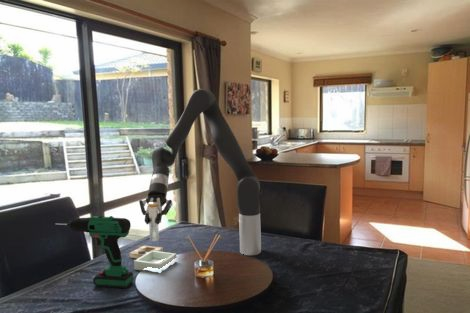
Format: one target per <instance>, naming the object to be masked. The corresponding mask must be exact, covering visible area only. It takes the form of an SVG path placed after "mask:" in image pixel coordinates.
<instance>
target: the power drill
mask: <svg viewBox="0 0 470 313" xmlns="http://www.w3.org/2000/svg"><path fill="white" fill-rule="evenodd" d="M54 224H55V225H58V226H59V225H62V226H63V225H64V226H67V227H68V228H70V230H71V231H75V232H80V233H88V235H89V236H90V238H95V239H96V240H97V244H96V245H97V246H99V247H100V248H101V249H103V250H104V254H105V256H106V258H107V260H108V263H109V266H107V267H106V268H105V269H103V270H101V271H99V272H98V274H96V275H95V276H94V277H93V280H92V283H93V285H94V286H96V287H100V288H101V287H104V288H116V289H117V288H118V289H127V288H129V286H130V285H132V283H133V281H134V273H133V271H129V269H128V268H127V266H126V265H122V260H123V257H122V252H121V249H120V245H119V243H118V242H119V239H122V238H126V237H127V236H128V235H129V234H130V229H131V226H132V225H131V221H130V219H128V218H125V217H114V216H112V215H110V216H104V215H101V216H98V215H93V216H91V217H90V216H89V217H78V218H77V217H75V218H73V219H71V220H70V221H68V223H54Z"/></svg>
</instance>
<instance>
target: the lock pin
mask: <svg viewBox="0 0 470 313" xmlns="http://www.w3.org/2000/svg"><path fill="white" fill-rule="evenodd" d="M147 207H148V210H149V224H148V230H149V231H148V232H149V241H150V242H156V241H159V240H160V235H159V234H160V232H159V231H160V230H159V224H157V223H156V220H157V214H158V203H157V202H149V203H148V204H147Z"/></svg>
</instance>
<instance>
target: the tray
mask: <svg viewBox="0 0 470 313" xmlns="http://www.w3.org/2000/svg"><path fill="white" fill-rule="evenodd" d="M165 258H166V259H165ZM175 258H177V253H175V252H174V253H173V252H165V251H163V252H159V251H150V252H148V253H147V254H145V255H143V256H141V257H140V258H138V259H137V258H135V260H133V267H134V268H133V269H134V270H136V271H141V270H143V269H144V268H147V267H152V268H158V269H160V268H162V267H163V266H165V265H166V264H168V263H169V262H171V261H172V260H173V259H175ZM161 259H165V260H163V261H162V262H160V263H154V262H156V261H158V260H161Z"/></svg>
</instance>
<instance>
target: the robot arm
mask: <svg viewBox="0 0 470 313" xmlns="http://www.w3.org/2000/svg"><path fill="white" fill-rule="evenodd" d="M201 114H203V115H204V118H205V119H206V121H207V123H208V125H209V129H210V133H211V138H212V141H213V144H214V145H215V147H216V149H217V151H218V153H219V154H220V156H221V158H222V159H223V160H224V161H225V162H226V164H227V165H228V166H229V168H230V169H231V170H232V171H233V173H234V175H235V177H236V180H237V186H236V187H237V188H236V199H237V208H238V221H239V222H238V227H239V228H238V229H239V233H238V234H239V235H238V236H239V253H240V254H241V255H243V254H244V255H243V256H257V255H259V254H261V253H262V237H261V235H262V234H261V233H262V232H261V231H262V230H261V228H262V227H261V206H260V189H261V183H260V180H259V179H258V177H257V175H256V174H255V172H254V171H253V170H252V168H251V167H250V165H249V163H248V161H247V159H246V157H245V154H244V153H243V152H244V151H243V149H242V148H241V146H240V144H239V141H238V140H237V138H236V136H235V134H234V132H233V131H232V129H231V127H230V126H229V123H228V122H227V120H226V119H225V117H224V115H223V113H222V111H221V107H220V106H219V102H218V100H217V98H216V96H215V94H214V93H213V92H212V91H211V90H209V89H206V88H205V89H204V88H197V89H195V90H194V91H193V92H192V93H191V95H190V97H189V99H188V101H187V103H186V105H185V108H184V110H183V112H182V114H181V116H180V117H179V119H178V121H177V123H176V124H175V125H174V127H173V128H172V130H171V131H170V133H169V134H168V136H167V137H166V139H165V145H166V146H168V148H169V149H171V150H169V149H166V148H165V147H162V146H156V147H155V148H154V149H153V150H152V153H151V162H152V174H151V178H150V182H149V185H148V186H149V187H148V192H147V197H146V198H145V199H143V200H141V199H140V200H139V201H138V202H139V206H140V211H141V213H142V215H143V216H144V223H145V224H146V225H149V210H148V206H147V208H145V206H146V204H147V205H148V203H149V202H157V203H158V214H157V220H156V223H157V224H158V225H160V224H161V223H162V217H163V216H164V215H165V216H166V215H168V213H169V211H170V209H171V208H172V206H173V201H172V199H167V195H168V194H167V193H168V189H169V178H170V168H169V167H172V166H174V164H175V162H176V159H177V155H178V153H179V150H180V149H181V146H182V145H183V144H184V142H185V141H186V139H187V138H188V135H190V131H191V129H192V126H193V124H194V123H195V121H196V120H197V118H198V117H199V116H200V115H201ZM164 205H165V206H164ZM163 206H164V207H163ZM145 209H146V210H145Z"/></svg>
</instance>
